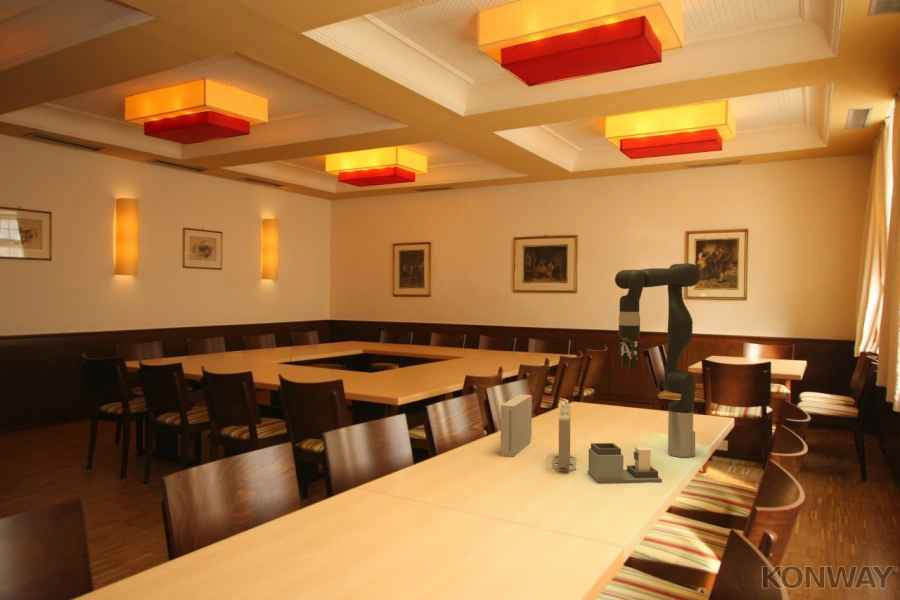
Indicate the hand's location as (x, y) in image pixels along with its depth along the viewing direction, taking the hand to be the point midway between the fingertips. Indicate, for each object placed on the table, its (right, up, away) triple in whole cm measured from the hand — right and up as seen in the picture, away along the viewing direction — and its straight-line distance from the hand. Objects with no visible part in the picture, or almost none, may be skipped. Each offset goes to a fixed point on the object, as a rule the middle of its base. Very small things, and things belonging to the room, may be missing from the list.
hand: (629, 368), depth 229 cm
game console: (-39, -36, +25) cm, 59 cm away
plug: (+1, -35, -13) cm, 38 cm away
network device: (-23, -36, +3) cm, 43 cm away
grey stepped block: (-6, -36, -14) cm, 39 cm away
